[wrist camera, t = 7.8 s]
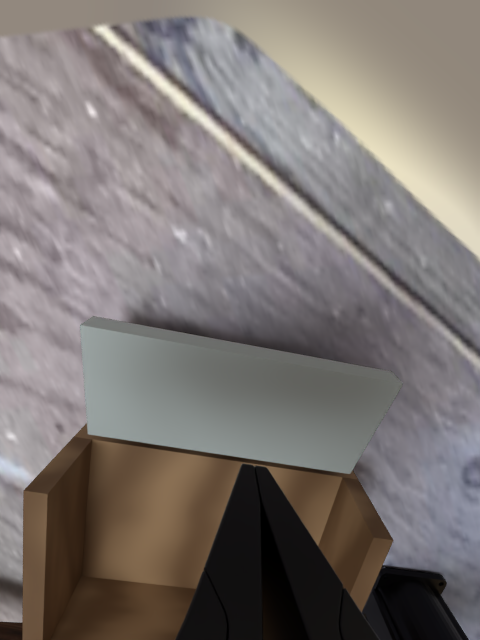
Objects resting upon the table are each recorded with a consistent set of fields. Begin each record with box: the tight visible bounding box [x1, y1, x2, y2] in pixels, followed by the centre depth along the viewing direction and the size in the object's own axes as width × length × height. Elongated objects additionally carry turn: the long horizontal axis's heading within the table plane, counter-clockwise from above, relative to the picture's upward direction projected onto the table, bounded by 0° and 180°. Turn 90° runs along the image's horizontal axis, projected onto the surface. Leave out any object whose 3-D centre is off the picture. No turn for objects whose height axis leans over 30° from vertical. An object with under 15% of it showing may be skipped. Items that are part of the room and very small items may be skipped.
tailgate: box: [80, 316, 403, 474], centre depth 15 cm, size 18×2×8 cm
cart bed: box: [22, 423, 393, 640], centre depth 17 cm, size 20×14×7 cm
